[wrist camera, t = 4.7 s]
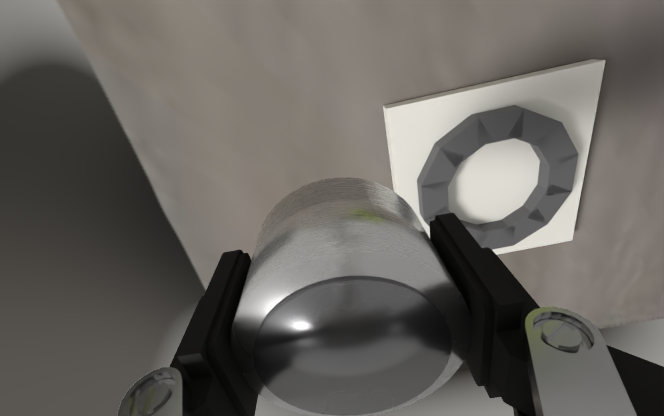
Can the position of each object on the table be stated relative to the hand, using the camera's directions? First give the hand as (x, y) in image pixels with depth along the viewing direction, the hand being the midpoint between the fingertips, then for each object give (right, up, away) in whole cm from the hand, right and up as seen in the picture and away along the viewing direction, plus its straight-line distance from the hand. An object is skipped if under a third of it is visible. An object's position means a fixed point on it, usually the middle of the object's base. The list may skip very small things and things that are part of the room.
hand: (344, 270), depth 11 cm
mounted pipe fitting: (+12, +5, +16) cm, 21 cm away
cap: (0, 0, +1) cm, 1 cm away
